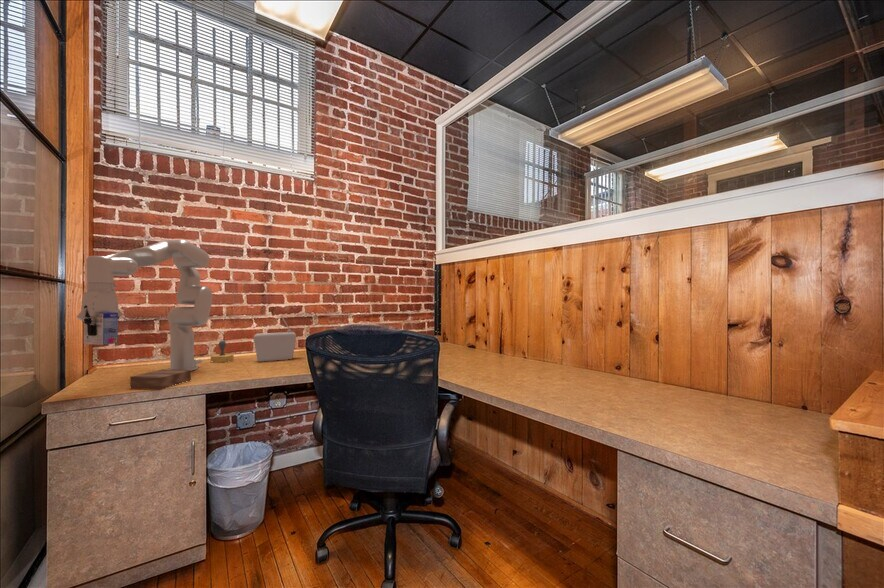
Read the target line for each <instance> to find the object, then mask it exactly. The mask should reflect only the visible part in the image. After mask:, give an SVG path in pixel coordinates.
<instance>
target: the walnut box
mask: <svg viewBox="0 0 884 588" xmlns="http://www.w3.org/2000/svg"><path fill="white" fill-rule="evenodd" d="M191 376H192V371H191V370H167V369H158V370H153V371H149V372H146V373H141V374H136V375H133V376H130V380H129V383H130V387H131V388H130V387H129V388H130V389H137V388H149V389H148V390H163V388H164V389H167V388H170V387H169V386H171V387H173V386H172V385H174V386H176V385H175V384H178V385H180V384H179V383H181V384H183V383H182V382H185V383H187V382H186V381H188V382H191V381H192V379H191V378H192V377H191ZM190 380H191V381H190ZM166 387H167V388H166Z"/></svg>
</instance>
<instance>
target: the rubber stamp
mask: <svg viewBox="0 0 884 588" xmlns="http://www.w3.org/2000/svg"><path fill="white" fill-rule="evenodd" d="M226 346H227V342H226V341H225V340H223V339H222V340H220V341H219V342H218V347H219V350H220V354H219V353H218V354H214V355H210V362H211V361H213V362H212V363H225V362H227V363H229V362H228V361H231V362H233V361H232V360H234V358H235V357H234V354H231V353H230V354H229V353H227V354H226V353H225V348H226ZM234 361H235V360H234Z"/></svg>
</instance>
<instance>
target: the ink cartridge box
mask: <svg viewBox="0 0 884 588" xmlns="http://www.w3.org/2000/svg"><path fill="white" fill-rule="evenodd" d="M86 318H87V317H86ZM118 320H119V319H118V313H117V312H107V313H98V317H97V319H96V322H95V324H94V325H96V326H97V335H96V336H88V332H87V325H85V323H84V322H83V345H99V346H100V345H101V346H104V345H112V344H118V343H119V331H118V329H119V327H118V326H119V325H118V324H119V322H118Z"/></svg>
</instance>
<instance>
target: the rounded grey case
mask: <svg viewBox="0 0 884 588" xmlns="http://www.w3.org/2000/svg"><path fill="white" fill-rule="evenodd" d="M281 319H282V321H283V322H284V324H285V325H284V324H282V323H280V325H281V326H285V327H286V328H288V329H287V330H286V331H285V332H283V331H282V332H269V333H268V332H264V333H262V332H261V333H260V331H261V330H263V329H264V328H267V327H269V326H272V325H274V323H271V324H268V325H267V326H264V327H262V328H261V329H260V330H259V331H258V332H257V333H255V334H254V335H253V341H254V347H255V353H256V359H257V362H259V363H263V362H264V361H266V362H277V360H279V361H288V359H290V360H293V358H294V353H295V347H296V346H295V345H296V341H297V334H296V333H295V332H294V331H293V330H292V329H290V326H288V323H287V322H286V320H285V318H284V317H283V316H281Z"/></svg>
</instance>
